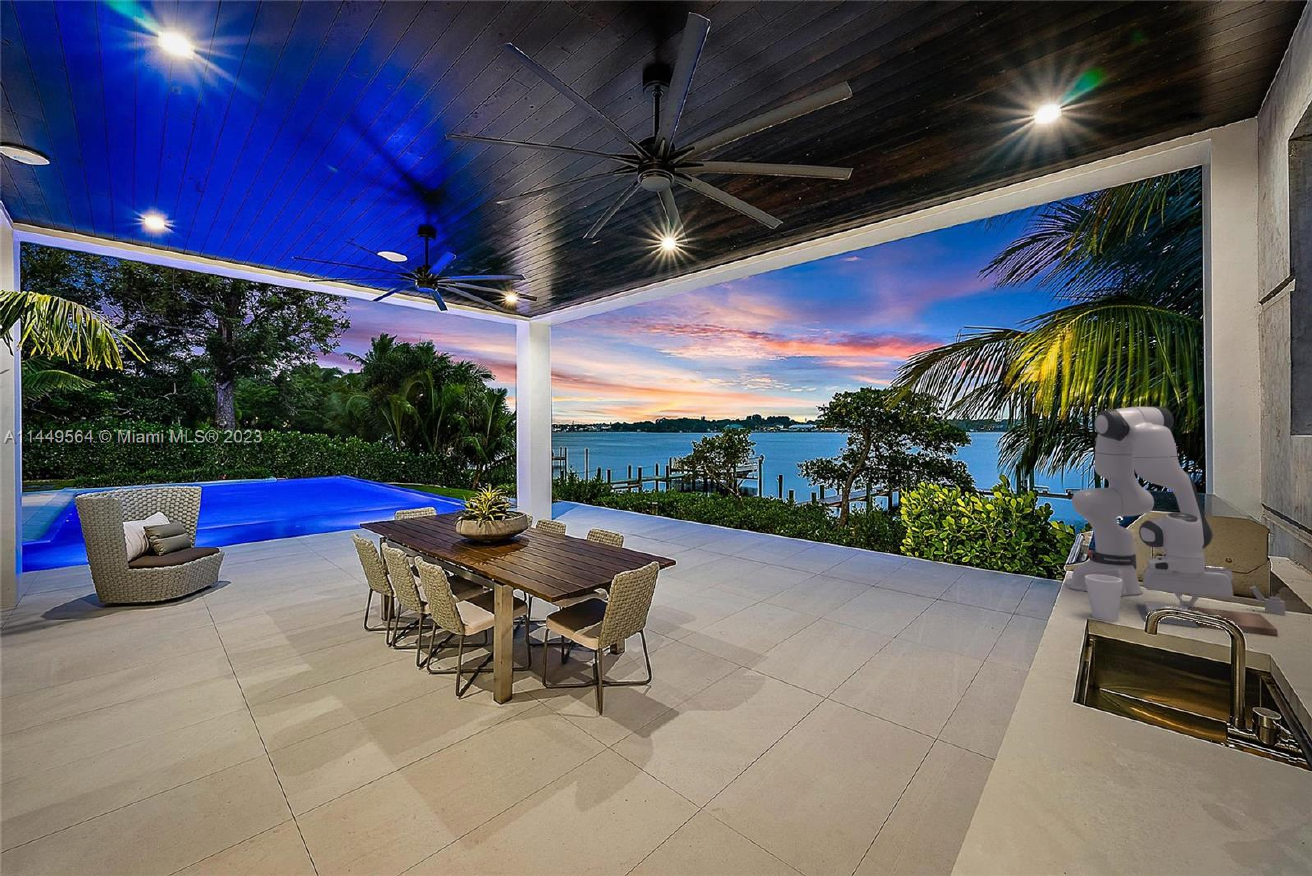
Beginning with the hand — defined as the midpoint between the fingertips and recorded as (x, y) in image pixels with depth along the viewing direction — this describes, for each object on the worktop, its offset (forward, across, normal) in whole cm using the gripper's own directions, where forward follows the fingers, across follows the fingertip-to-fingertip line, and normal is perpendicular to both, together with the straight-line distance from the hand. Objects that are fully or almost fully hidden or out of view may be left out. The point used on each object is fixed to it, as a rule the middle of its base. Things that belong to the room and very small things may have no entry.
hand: (1187, 607), depth 166 cm
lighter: (+4, -21, -18) cm, 28 cm away
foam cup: (+4, +21, +10) cm, 23 cm away
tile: (+3, +5, +1) cm, 6 cm away
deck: (+4, -9, 0) cm, 10 cm away
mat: (+4, +5, 0) cm, 6 cm away
